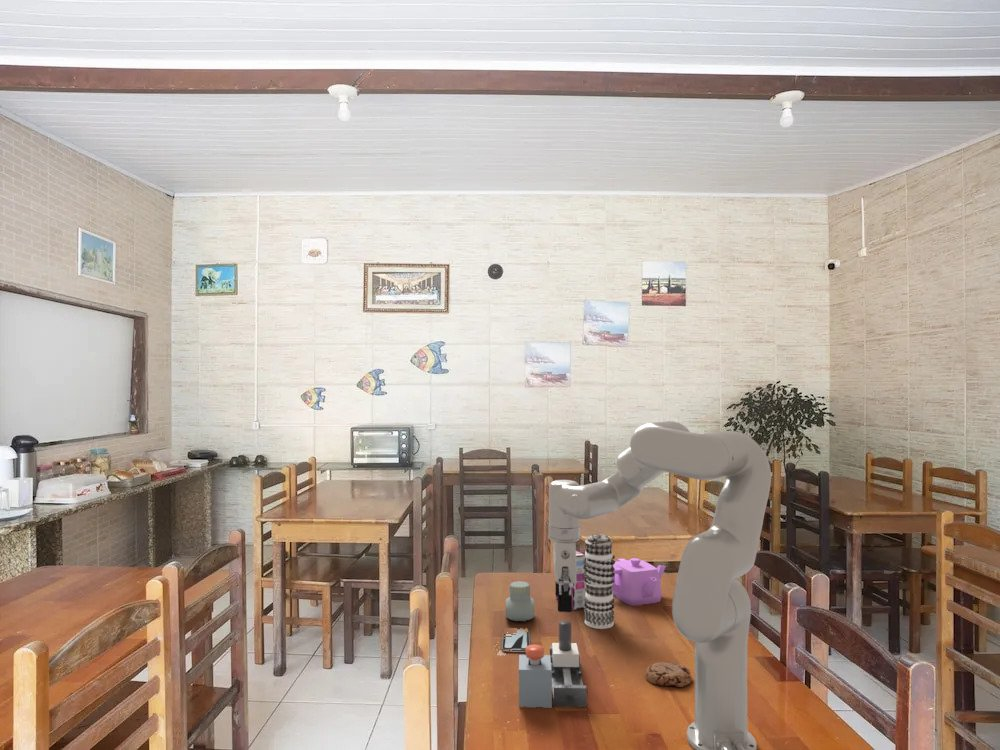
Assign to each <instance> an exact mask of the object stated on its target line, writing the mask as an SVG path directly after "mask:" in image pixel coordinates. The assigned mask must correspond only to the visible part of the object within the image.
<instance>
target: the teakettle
mask: <svg viewBox="0 0 1000 750" xmlns="http://www.w3.org/2000/svg"><path fill="white" fill-rule="evenodd" d="M612 567H614V568H615V570H614V571H613V573H614V574H615V575H614V576H613V577H612V579H613V580H614V584H613V585H612V592H613V596H614V597H616V598H617V599H618V598H619V599H618V600H620V601H621V600H622V601H621V602H623V603H625V604H626V603H627V605H628V604H629V606H631V605H636V606H642V604H645V605H651V603H652V604H658V603H660V602H661V599H662V585H661V579H662V578H663V575H664V572H665V569H666V566H665V565H662V564H658V566H657V567H655V566H654V565H652V564H651V563H649V562H647V561H645V560H642V559H640V558H637V557H636V558H635V557H632V558H630V559H625V558H617V561H616V560H615V564H612ZM657 602H658V603H657Z"/></svg>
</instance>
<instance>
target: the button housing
mask: <svg viewBox="0 0 1000 750" xmlns="http://www.w3.org/2000/svg"><path fill="white" fill-rule="evenodd" d="M552 699H553V691H552V670H551V660H550V654H548V655H547V654H544V657H543V658H541V659H539V665H530V659H529V658H527V657H526V654H518V707H519V706H527V707H526V708H536V707H543V708H544V709H545V708H546V709H547V708H548V709H549V708H550V709H552V707H553V706H552V705H553V700H552Z"/></svg>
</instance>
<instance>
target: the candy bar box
mask: <svg viewBox="0 0 1000 750" xmlns="http://www.w3.org/2000/svg"><path fill="white" fill-rule="evenodd" d="M585 558H586V557H585V553H582V552H580V551H577V550H576V580H577V583H576V584H574V583H572V582H571V594H572V611H577V609H578V610H585V608H586V607H585V606H584V604H585V601H584V599H585V597H586V595H585V592H586V583H585V582H584V577H585V576H584V572H585V569H583V567H584V566H583V565H584V564H583V560H584V559H585ZM556 598H557V599H558V596H556V595H555V599H556ZM557 599H556V600H557ZM582 608H583V609H582Z"/></svg>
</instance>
